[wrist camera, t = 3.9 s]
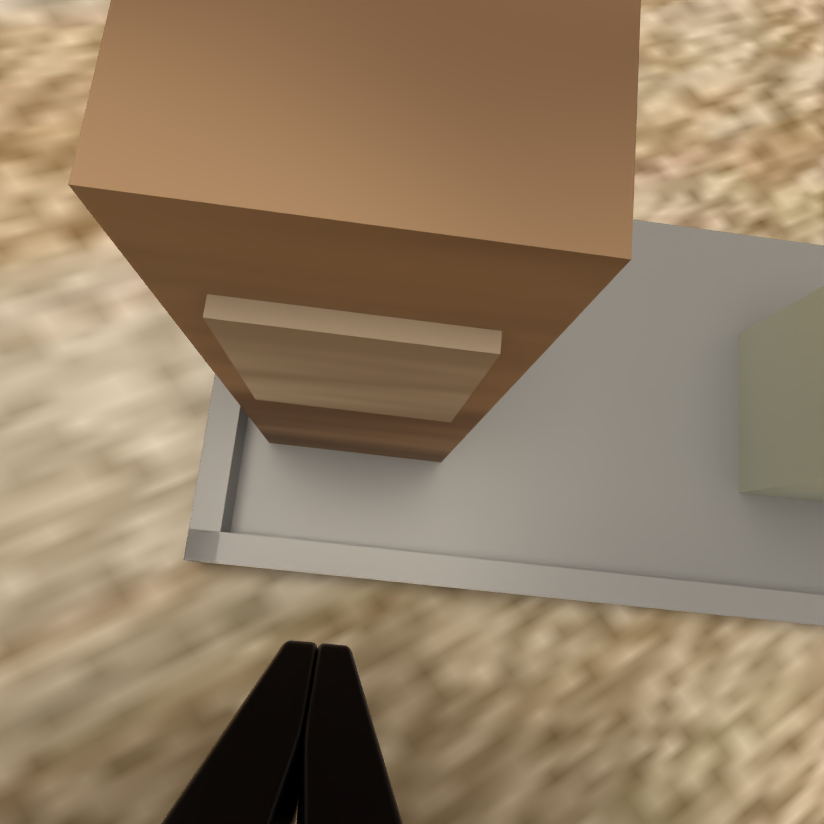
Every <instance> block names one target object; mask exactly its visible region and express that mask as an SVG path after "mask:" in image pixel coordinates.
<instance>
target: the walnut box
mask: <svg viewBox="0 0 824 824" xmlns="http://www.w3.org/2000/svg"><path fill="white" fill-rule="evenodd" d="M640 9H641V0H111V3H110V7H109V11H108V16H107V20H106V24H105V29H104V33H103V37H102V42H101V46H100V50H99V55H98V59H97V63H96V68H95V72H94V76H93V81H92V85H91V89H90V93H89V98H88V102H87V106H86V111H85V115H84V119H83V124H82V128H81V132H80V137H79V141H78V145H77V150H76V154H75V158H74V163H73V167H72V171H71V176H70V180H69V184H68V185H69V186H70V187H71V188H72V190H73V191H74V192H75V194H76V195H77V196H78V197H79V199H80V200H81V201H82V203H83V204H84V205H85V206H86V208H87V209H88V210H89V212H90V213H91V214H92V215H93V217H94V218H95V219H96V221H97V222H98V223H99V224H100V226H101V227H102V228H103V230H104V231H105V232H106V233H107V235H108V236H109V237H110V239H111V240H112V241H113V242H114V244H115V245H116V246H117V248H118V249H119V250H120V251H121V253H122V254H123V255H124V257H125V258H126V259H127V260H128V262H129V263H130V264H131V266H132V267H133V268H134V270H135V271H136V272H137V273H138V275H139V276H140V277H141V279H142V280H143V281H144V282H145V284H146V285H147V286H148V288H149V289H150V290H151V291H152V293H153V294H154V295H155V297H156V298H157V299H158V300H159V302H160V303H161V304H162V306H163V307H164V308H165V309H166V311H167V312H168V313H169V315H170V316H171V317H172V318H173V320H174V321H175V322H176V324H177V325H178V326H179V327H180V329H181V330H182V331H183V333H184V334H185V335H186V336H187V338H188V339H189V340H190V342H191V343H192V344H193V345H194V347H195V348H196V349H197V351H198V352H199V353H200V354H201V356H202V357H203V358H204V360H205V361H206V362H207V364H208V365H209V366H210V367H211V369H212V370H213V371H214V373H215V374H216V375H217V376H218V378H219V379H220V380H221V382H222V383H223V384H224V385H225V387H226V388H227V389H228V391H229V392H230V393H231V394H232V396H233V397H234V398H235V400H236V401H237V402H238V403H239V405H240V406H241V407H242V409H243V410H244V411H245V412H246V414H247V415H248V416H249V418H250V419H251V420H252V421H253V423H254V424H255V425H256V427H257V428H258V429H259V430H260V432H261V433H262V434H263V436H264V437H265V438H266V439H267V441H268V442H269V443H275V444H284V445H292V446H301V447H310V448H319V449H328V450H337V451H345V452H354V453H363V454H372V455H381V456H390V457H398V458H407V459H416V460H425V461H434V462H442V461H443V460H444V459H445V458H446V457H447V456H448V455H449V454H450V452H451V451H452V450H453V449H454V448H455V447H456V446H457V445H458V444H459V443H460V442H461V441H462V440H463V439H464V438H465V436H466V435H467V434H468V433H469V432H470V431H471V430H472V429H473V428H474V427H475V426H476V425H477V424H478V423H479V422H480V420H481V419H482V418H483V417H484V416H485V415H486V414H487V413H488V412H489V411H490V410H491V409H492V408H493V407H494V406H495V404H496V403H497V402H498V401H499V400H500V399H501V398H502V397H503V396H504V395H505V394H506V393H507V392H508V391H509V390H510V388H511V387H512V386H513V385H514V384H515V383H516V382H517V381H518V380H519V379H520V378H521V377H522V376H523V375H524V374H525V372H526V371H527V370H528V369H529V368H530V367H531V366H532V365H533V364H534V363H535V362H536V361H537V360H538V359H539V358H540V356H541V355H542V354H543V353H544V352H545V351H546V350H547V349H548V348H549V347H550V346H551V345H552V344H553V343H554V341H555V340H556V339H557V338H558V337H559V336H560V335H561V334H562V333H563V332H564V331H565V330H566V329H567V328H568V327H569V325H570V324H571V323H572V322H573V321H574V320H575V319H576V318H577V317H578V316H579V315H580V314H581V313H582V312H583V311H584V309H585V308H586V307H587V306H588V305H589V304H590V303H591V302H592V301H593V300H594V299H595V298H596V297H597V296H598V295H599V293H600V292H601V291H602V290H603V289H604V288H605V287H606V286H607V285H608V284H609V283H610V282H611V281H612V280H613V279H614V277H615V276H616V275H617V274H618V273H619V272H620V271H621V270H622V269H623V268H624V267H625V266H626V265H627V264H628V263H629V261H630V260H631V258H632V230H633V202H634V175H635V147H636V120H637V92H638V64H639V37H640Z"/></svg>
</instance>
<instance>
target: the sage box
mask: <svg viewBox="0 0 824 824" xmlns="http://www.w3.org/2000/svg"><path fill="white" fill-rule="evenodd" d="M739 493H746V494H755V495H764V496H773V497H781V498H790V499H799V500H808V501H817V502H824V286H822V287H821V288H819V289H817V290H815V291H814V292H812V293H810V294H808V295H807V296H805V297H803V298H801V299H800V300H798V301H796V302H794V303H793V304H791V305H789V306H788V307H786V308H784V309H782V310H781V311H779V312H777V313H775V314H774V315H772V316H770V317H768V318H767V319H765V320H763V321H761V322H760V323H758V324H756V325H754V326H753V327H751V328H749V329H747V330H746V331H744V332H742V333H740V334H739Z"/></svg>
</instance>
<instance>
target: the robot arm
mask: <svg viewBox="0 0 824 824" xmlns="http://www.w3.org/2000/svg"><path fill="white" fill-rule="evenodd" d="M297 807H298V812H297ZM296 813H297V824H402V820H401V817H400V814H399V810H398V807H397V804H396V800H395V797H394V793H393V790H392V787H391V783H390V780H389V776H388V773H387V770H386V766H385V763H384V760H383V756H382V753H381V749H380V746H379V743H378V739H377V736H376V732H375V729H374V726H373V722H372V719H371V716H370V712H369V709H368V705H367V702H366V699H365V695H364V692H363V688H362V685H361V682H360V678H359V675H358V672H357V668H356V665H355V661H354V658H353V655H352V652H351V650H350V648H349V647H347V646H344V645H334V644H321V645H320V646H319V647H318V649H317V646H316V644H315V643H312V642H303V641H293V640H290V641H287V642H285V643H284V644H283V645H282V647H281V648H280V650H279V651H278V652H277V654H276V655H275V657H274V658H273V660H272V661H271V663H270V664H269V666H268V667H267V669H266V670H265V672H264V673H263V674H262V676H261V677H260V679H259V680H258V682H257V683H256V685H255V686H254V688H253V689H252V691H251V692H250V694H249V695H248V697H247V698H246V699H245V701H244V702H243V704H242V705H241V707H240V708H239V710H238V711H237V713H236V714H235V716H234V717H233V719H232V720H231V721H230V723H229V724H228V726H227V727H226V729H225V730H224V732H223V733H222V735H221V736H220V738H219V739H218V741H217V742H216V744H215V745H214V746H213V748H212V749H211V751H210V752H209V754H208V755H207V757H206V758H205V760H204V761H203V763H202V764H201V766H200V767H199V768H198V770H197V771H196V773H195V774H194V776H193V777H192V779H191V780H190V782H189V783H188V785H187V786H186V788H185V789H184V790H183V792H182V793H181V795H180V796H179V798H178V799H177V801H176V802H175V804H174V805H173V807H172V808H171V810H170V811H169V813H168V814H167V815H166V817H165V818H164V820H163V821H162V823H161V824H295V819H296Z"/></svg>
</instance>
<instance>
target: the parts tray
mask: <svg viewBox="0 0 824 824" xmlns="http://www.w3.org/2000/svg"><path fill="white" fill-rule="evenodd" d="M822 286H824V246H822V245H815V244H808V243H800V242H793V241H786V240H778V239H771V238H764V237H756V236H749V235H742V234H735V233H727V232H720V231H713V230H705V229H698V228H691V227H683V226H676V225H669V224H661V223H654V222H647V221H639V220H633V230H632V258H631V260H630V261H629V263H628V264H627V265H626V266H625V267H624V268H623V269H622V270H621V271H620V272H619V273H618V274H617V275H616V276H615V277H614V279H613V280H612V281H611V282H610V283H609V284H608V285H607V286H606V287H605V288H604V289H603V290H602V291H601V292H600V293H599V295H598V296H597V297H596V298H595V299H594V300H593V301H592V302H591V303H590V304H589V305H588V306H587V307H586V308H585V309H584V311H583V312H582V313H581V314H580V315H579V316H578V317H577V318H576V319H575V320H574V321H573V322H572V323H571V324H570V325H569V327H568V328H567V329H566V330H565V331H564V332H563V333H562V334H561V335H560V336H559V337H558V338H557V339H556V340H555V341H554V343H553V344H552V345H551V346H550V347H549V348H548V349H547V350H546V351H545V352H544V353H543V354H542V355H541V356H540V358H539V359H538V360H537V361H536V362H535V363H534V364H533V365H532V366H531V367H530V368H529V369H528V370H527V371H526V372H525V374H524V375H523V376H522V377H521V378H520V379H519V380H518V381H517V382H516V383H515V384H514V385H513V386H512V387H511V388H510V390H509V391H508V392H507V393H506V394H505V395H504V396H503V397H502V398H501V399H500V400H499V401H498V402H497V403H496V404H495V406H494V407H493V408H492V409H491V410H490V411H489V412H488V413H487V414H486V415H485V416H484V417H483V418H482V419H481V420H480V422H479V423H478V424H477V425H476V426H475V427H474V428H473V429H472V430H471V431H470V432H469V433H468V434H467V435H466V436H465V438H464V439H463V440H462V441H461V442H460V443H459V444H458V445H457V446H456V447H455V448H454V449H453V450H452V451H451V452H450V454H449V455H448V456H447V457H446V458H445V459H444V460H443V461H442V462H434V461H425V460H416V459H407V458H398V457H390V456H381V455H372V454H363V453H354V452H345V451H337V450H328V449H319V448H310V447H301V446H292V445H284V444H275V443H269V442H268V441H267V439H266V438H265V437H264V436H263V434H262V433H261V432H260V430H259V429H258V428H257V427H256V425H255V424H254V423H253V421H252V420H251V419H250V418H249V416H248V415H247V414H246V412H245V411H244V410H243V409H242V407H241V406H240V405H239V403H238V402H237V401H236V400H235V398H234V397H233V396H232V394H231V393H230V392H229V391H228V389H227V388H226V387H225V385H224V384H223V383H222V382H221V380H220V379H219V378H218V376H217V375H216V374H215V378H214V384H213V390H212V396H211V401H210V407H209V413H208V419H207V425H206V431H205V437H204V443H203V449H202V454H201V460H200V466H199V472H198V478H197V484H196V490H195V496H194V502H193V508H192V513H191V519H190V525H189V531H188V537H187V543H186V549H185V555H184V560H188V561H197V562H207V563H217V564H227V565H236V566H246V567H256V568H266V569H275V570H285V571H295V572H305V573H314V574H324V575H334V576H344V577H353V578H363V579H373V580H382V581H392V582H402V583H412V584H421V585H431V586H441V587H451V588H460V589H470V590H480V591H490V592H499V593H509V594H519V595H529V596H538V597H548V598H558V599H568V600H577V601H587V602H597V603H607V604H616V605H626V606H636V607H646V608H655V609H665V610H675V611H685V612H694V613H704V614H714V615H724V616H733V617H743V618H753V619H763V620H772V621H782V622H792V623H802V624H811V625H821V626H824V502H817V501H808V500H799V499H790V498H781V497H773V496H764V495H755V494H746V493H739V334H740V333H742V332H744V331H746V330H747V329H749V328H751V327H753V326H754V325H756V324H758V323H760V322H761V321H763V320H765V319H767V318H768V317H770V316H772V315H774V314H775V313H777V312H779V311H781V310H782V309H784V308H786V307H788V306H789V305H791V304H793V303H794V302H796V301H798V300H800V299H801V298H803V297H805V296H807V295H808V294H810V293H812V292H814V291H815V290H817V289H819V288H821V287H822Z"/></svg>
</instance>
